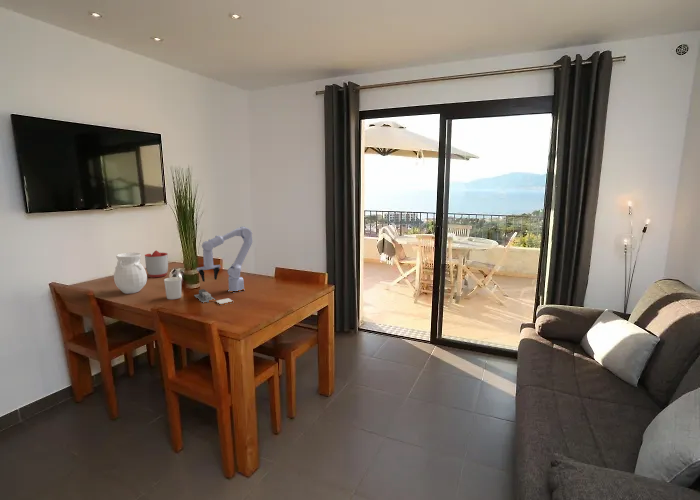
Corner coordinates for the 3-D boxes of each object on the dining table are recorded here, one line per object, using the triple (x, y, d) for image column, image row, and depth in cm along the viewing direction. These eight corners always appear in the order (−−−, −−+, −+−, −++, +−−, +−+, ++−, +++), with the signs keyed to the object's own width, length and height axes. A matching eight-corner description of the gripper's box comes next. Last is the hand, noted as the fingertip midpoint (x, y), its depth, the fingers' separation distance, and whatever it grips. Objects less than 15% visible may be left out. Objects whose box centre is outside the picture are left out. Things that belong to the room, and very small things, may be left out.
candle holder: (163, 300, 223) (162, 281, 221) (167, 295, 232) (165, 277, 230) (181, 299, 226) (179, 280, 223) (183, 294, 235) (182, 276, 233)
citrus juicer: (165, 272, 291) (164, 247, 288) (171, 276, 278) (169, 251, 275) (144, 274, 281) (141, 249, 278) (148, 279, 268) (146, 253, 265)
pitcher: (133, 296, 229) (129, 258, 224) (108, 294, 232) (104, 256, 228) (154, 288, 247) (151, 252, 242) (131, 286, 250) (127, 251, 246)
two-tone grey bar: (203, 294, 234) (203, 289, 234) (211, 300, 223) (210, 294, 223) (199, 295, 232) (198, 289, 232) (206, 300, 222) (205, 295, 221)
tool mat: (206, 293, 237) (206, 292, 237) (216, 300, 224) (216, 300, 224) (194, 295, 233) (194, 295, 232) (202, 303, 219) (202, 302, 219)
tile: (228, 298, 226) (233, 301, 220) (228, 300, 226) (233, 303, 221) (215, 300, 221) (220, 303, 215) (216, 303, 221) (220, 306, 216)
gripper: (217, 257, 240) (218, 277, 243) (194, 260, 231) (196, 280, 234) (221, 259, 235) (222, 279, 237) (198, 262, 226) (199, 283, 228)
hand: (209, 280), depth 235 cm, fingers open, 7 cm apart
